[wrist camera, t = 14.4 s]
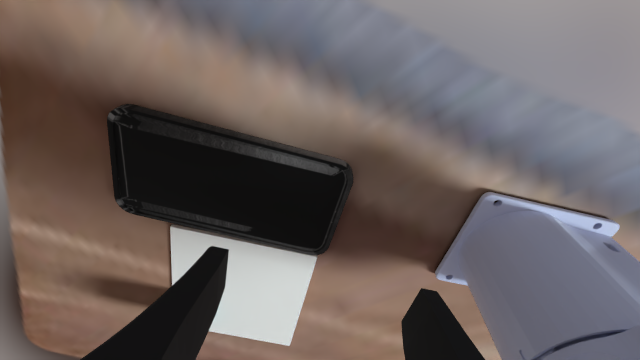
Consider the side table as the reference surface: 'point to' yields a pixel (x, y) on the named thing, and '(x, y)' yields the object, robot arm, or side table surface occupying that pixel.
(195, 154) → the phone
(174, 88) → the side table surface
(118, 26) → the side table surface
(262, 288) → the paper
